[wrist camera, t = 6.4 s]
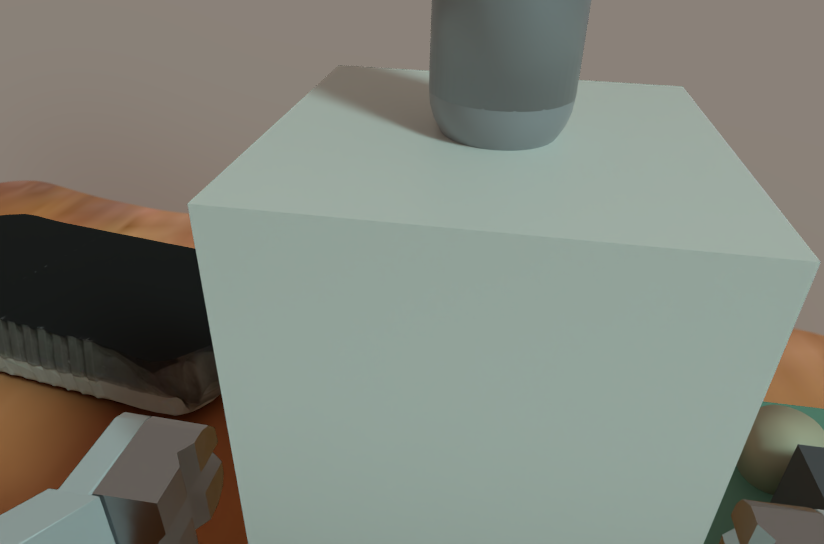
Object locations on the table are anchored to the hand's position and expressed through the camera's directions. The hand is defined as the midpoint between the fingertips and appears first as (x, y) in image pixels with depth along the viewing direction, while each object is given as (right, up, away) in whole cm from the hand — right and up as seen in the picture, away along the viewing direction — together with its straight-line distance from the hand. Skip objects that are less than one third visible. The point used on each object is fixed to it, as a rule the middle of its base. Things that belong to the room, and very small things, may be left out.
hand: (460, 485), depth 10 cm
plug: (0, -8, +4) cm, 9 cm away
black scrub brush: (-15, 0, +18) cm, 23 cm away
